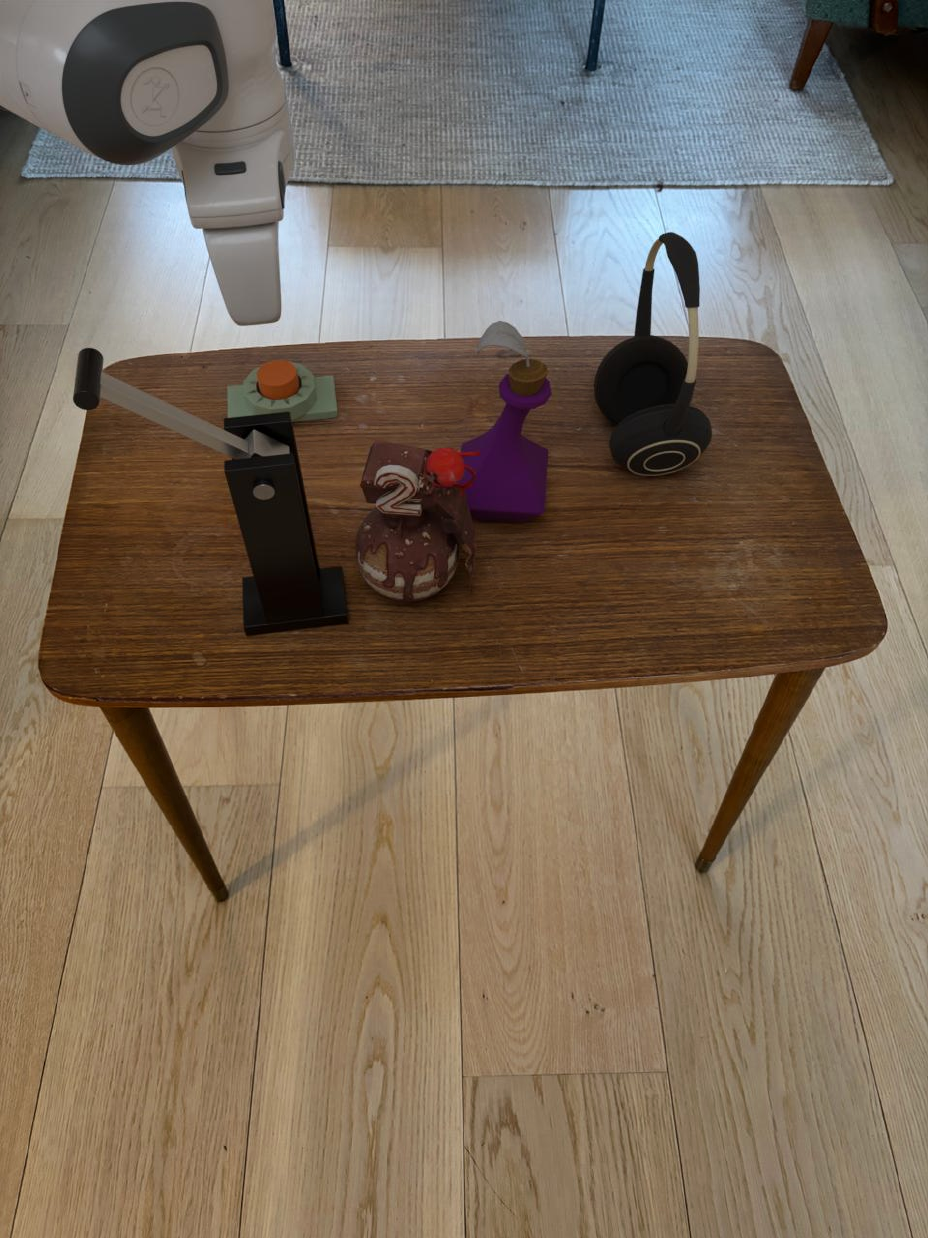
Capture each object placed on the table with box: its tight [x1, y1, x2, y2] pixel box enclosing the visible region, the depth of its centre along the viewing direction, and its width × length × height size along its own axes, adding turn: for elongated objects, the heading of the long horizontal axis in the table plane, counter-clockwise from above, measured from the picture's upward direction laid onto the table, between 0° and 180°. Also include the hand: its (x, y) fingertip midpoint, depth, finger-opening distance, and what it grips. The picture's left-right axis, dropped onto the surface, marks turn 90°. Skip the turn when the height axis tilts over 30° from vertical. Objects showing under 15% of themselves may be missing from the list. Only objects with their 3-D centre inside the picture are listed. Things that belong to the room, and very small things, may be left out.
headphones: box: [593, 231, 713, 477], centre depth 81 cm, size 9×15×20 cm, turn 6°
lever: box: [72, 347, 290, 459], centre depth 62 cm, size 14×4×2 cm
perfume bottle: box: [455, 320, 553, 525], centre depth 78 cm, size 8×8×18 cm
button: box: [257, 359, 299, 400], centre depth 90 cm, size 4×4×2 cm
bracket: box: [223, 411, 349, 637], centre depth 71 cm, size 8×6×18 cm
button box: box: [226, 360, 339, 423], centre depth 91 cm, size 10×6×2 cm, turn 99°
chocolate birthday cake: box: [355, 439, 481, 603], centre depth 74 cm, size 9×8×15 cm
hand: (265, 301), depth 83 cm, fingers closed
